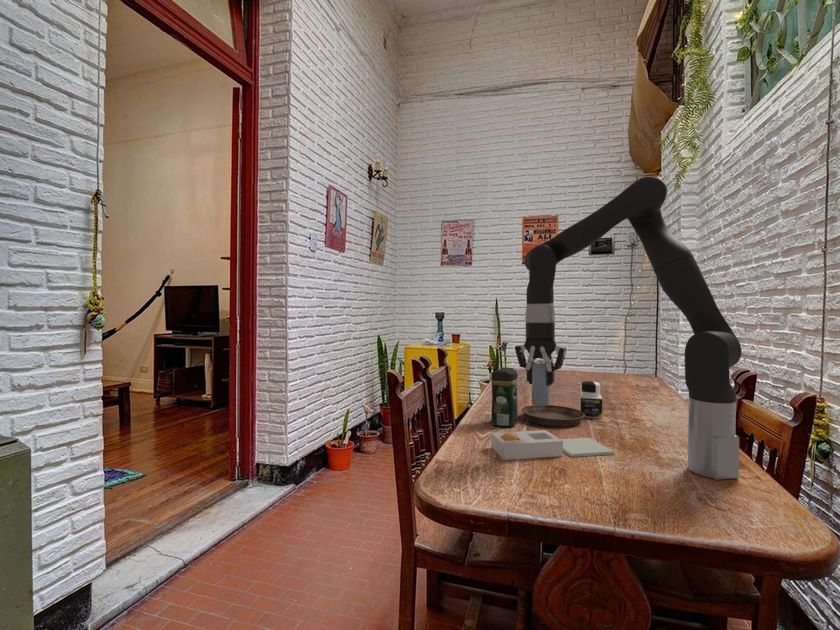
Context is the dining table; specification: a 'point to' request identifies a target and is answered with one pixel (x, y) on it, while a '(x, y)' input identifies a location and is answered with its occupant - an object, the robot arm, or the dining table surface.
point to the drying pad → (584, 447)
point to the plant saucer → (553, 415)
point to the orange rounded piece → (509, 436)
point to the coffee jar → (504, 397)
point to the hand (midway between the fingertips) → (540, 384)
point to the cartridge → (540, 384)
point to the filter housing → (527, 445)
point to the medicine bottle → (591, 400)
